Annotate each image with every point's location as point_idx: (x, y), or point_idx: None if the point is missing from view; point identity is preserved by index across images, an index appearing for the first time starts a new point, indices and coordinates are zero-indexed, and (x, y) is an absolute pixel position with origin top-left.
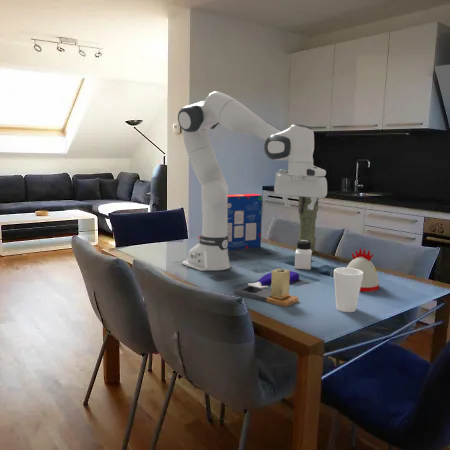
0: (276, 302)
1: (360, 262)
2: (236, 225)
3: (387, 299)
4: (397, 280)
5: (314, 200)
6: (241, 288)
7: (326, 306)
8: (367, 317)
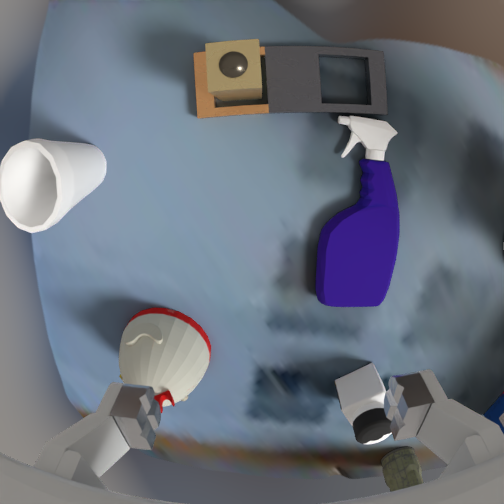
0: None
1: (138, 374)
2: None
3: (75, 295)
4: None
5: (50, 449)
6: (376, 71)
7: (124, 143)
8: None
